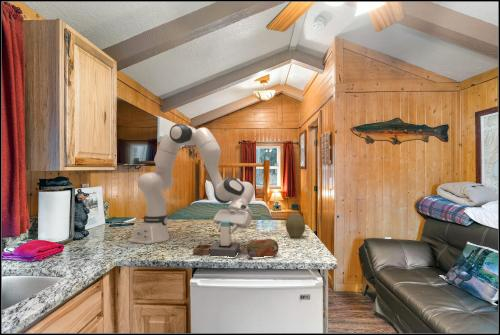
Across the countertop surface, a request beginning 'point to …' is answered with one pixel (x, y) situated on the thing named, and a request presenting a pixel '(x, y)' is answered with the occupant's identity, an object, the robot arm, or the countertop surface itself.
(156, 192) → the robot arm
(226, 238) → the blue capped bottle
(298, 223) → the olive brown vase
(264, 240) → the tin
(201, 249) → the brown shallow square box
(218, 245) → the port
